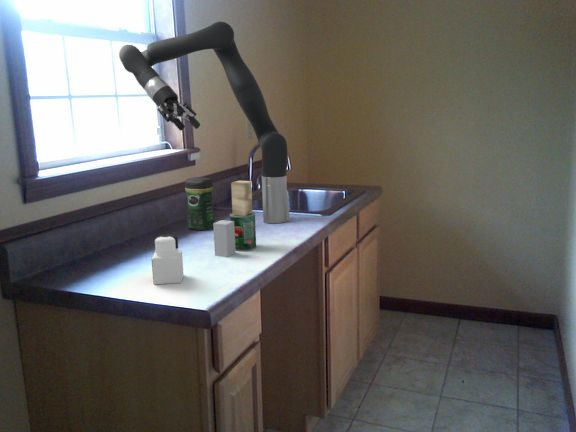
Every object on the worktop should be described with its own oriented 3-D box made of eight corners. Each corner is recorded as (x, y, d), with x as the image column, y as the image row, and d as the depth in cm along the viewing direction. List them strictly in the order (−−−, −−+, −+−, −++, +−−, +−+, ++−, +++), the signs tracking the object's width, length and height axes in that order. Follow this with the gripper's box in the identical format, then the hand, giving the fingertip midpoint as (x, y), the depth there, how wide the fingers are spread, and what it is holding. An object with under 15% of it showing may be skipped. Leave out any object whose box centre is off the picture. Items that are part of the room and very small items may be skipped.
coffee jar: (218, 227, 211) (216, 176, 207) (205, 231, 205) (202, 179, 201) (197, 224, 216) (194, 175, 212) (184, 229, 209) (180, 178, 205)
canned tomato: (261, 246, 184) (259, 212, 182) (248, 252, 178) (246, 217, 175) (240, 243, 188) (238, 210, 186) (226, 249, 181) (224, 215, 179)
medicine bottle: (157, 276, 157) (153, 233, 154) (183, 274, 158) (180, 232, 155) (153, 284, 150) (149, 240, 147) (181, 283, 151) (178, 238, 148)
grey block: (223, 251, 179) (221, 220, 177) (235, 253, 177) (234, 221, 175) (214, 255, 175) (213, 223, 173) (227, 257, 173) (225, 224, 171)
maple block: (240, 211, 183) (238, 180, 181) (252, 212, 181) (251, 181, 179) (232, 214, 180) (231, 182, 177) (245, 215, 178) (243, 183, 175)
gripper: (152, 85, 188) (183, 121, 185) (179, 84, 200) (209, 118, 197) (141, 102, 191) (171, 137, 189) (168, 100, 204) (197, 134, 201)
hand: (190, 127), depth 193 cm, fingers open, 8 cm apart
